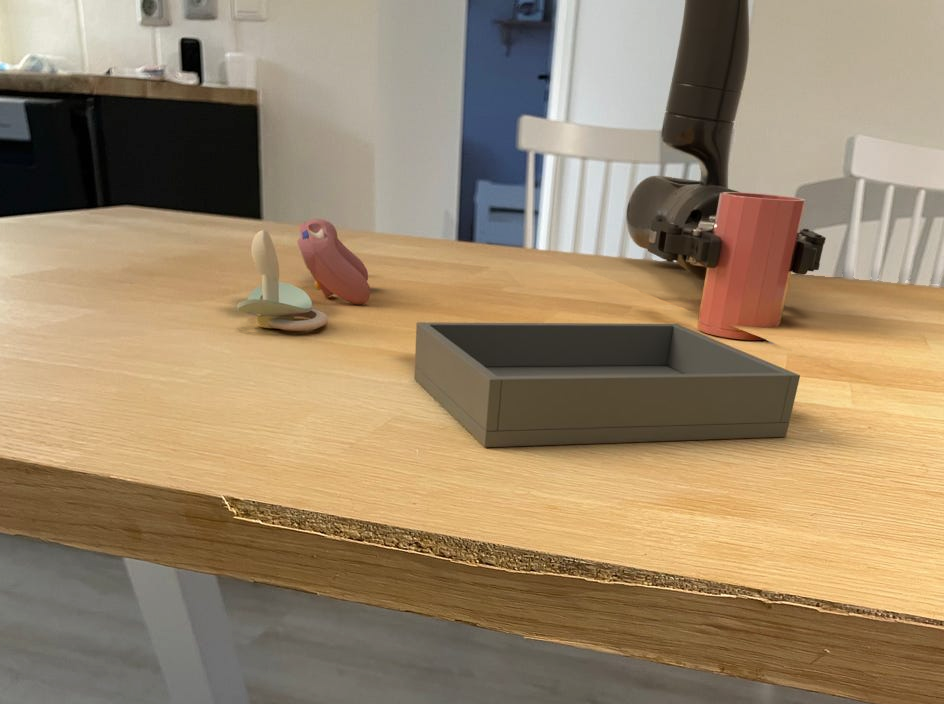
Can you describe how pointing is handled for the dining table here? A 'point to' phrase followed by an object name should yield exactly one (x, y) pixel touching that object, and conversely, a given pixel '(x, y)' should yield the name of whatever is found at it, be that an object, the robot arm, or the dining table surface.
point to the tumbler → (750, 263)
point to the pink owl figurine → (332, 262)
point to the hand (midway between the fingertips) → (760, 256)
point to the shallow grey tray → (599, 383)
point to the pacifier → (277, 294)
